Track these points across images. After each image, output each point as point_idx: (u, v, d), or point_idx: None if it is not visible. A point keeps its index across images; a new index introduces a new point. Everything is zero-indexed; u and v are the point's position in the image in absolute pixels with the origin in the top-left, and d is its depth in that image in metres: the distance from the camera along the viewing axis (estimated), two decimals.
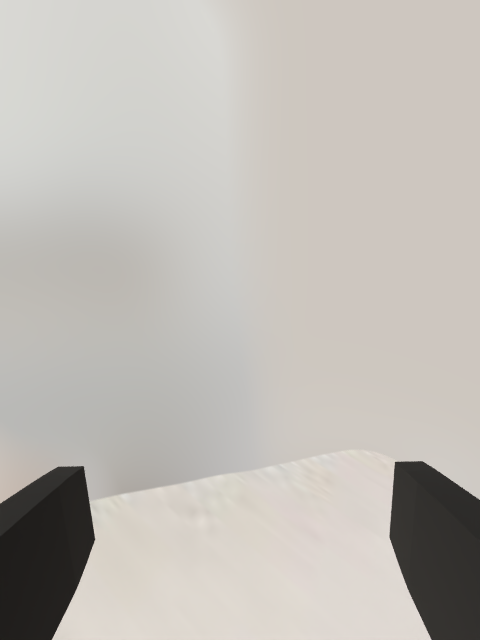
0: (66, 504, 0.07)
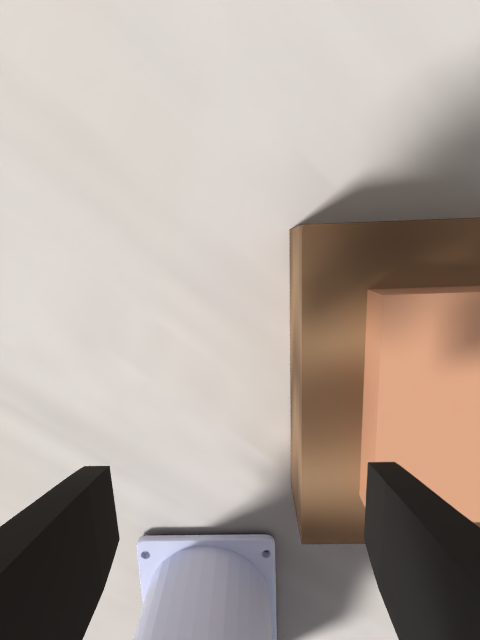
0: (95, 504, 0.07)
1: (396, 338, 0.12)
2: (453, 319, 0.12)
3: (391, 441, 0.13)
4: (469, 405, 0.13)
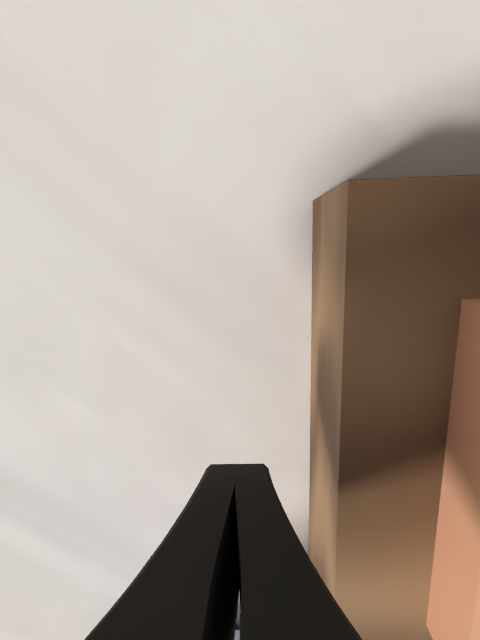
0: (235, 502, 0.07)
1: None
2: None
3: None
4: None
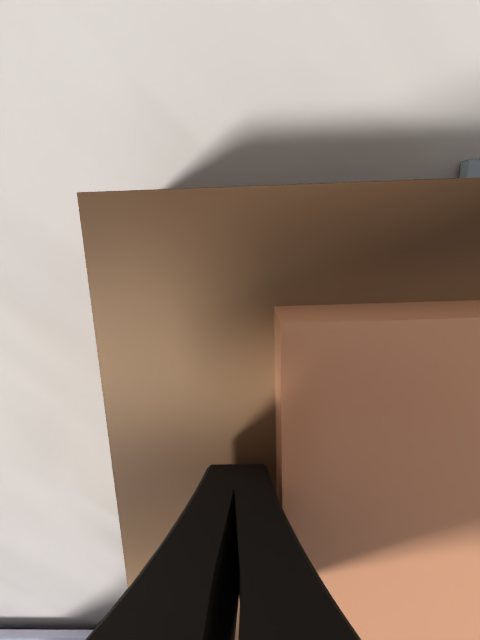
0: None
1: (310, 403, 0.06)
2: (417, 369, 0.06)
3: None
4: (447, 519, 0.07)
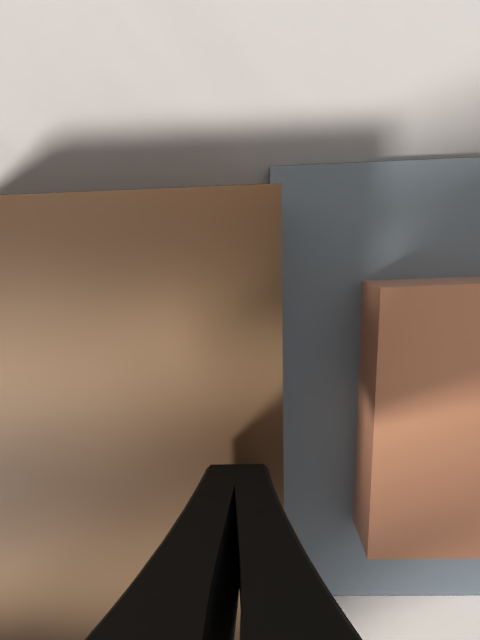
0: (235, 502, 0.07)
1: None
2: None
3: None
4: None
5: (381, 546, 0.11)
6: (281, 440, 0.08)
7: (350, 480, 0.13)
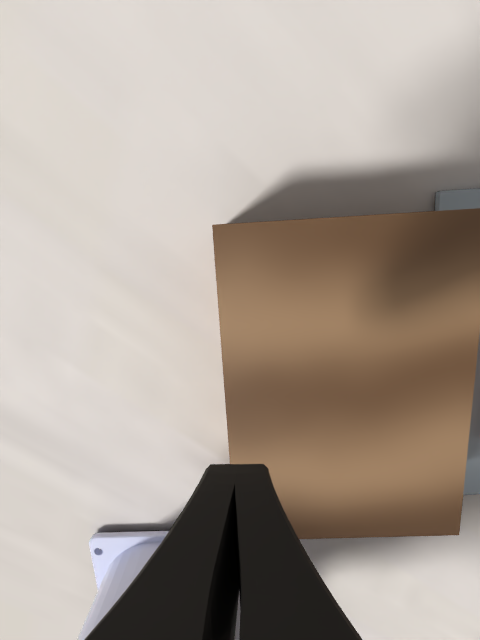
0: (235, 502, 0.07)
1: None
2: None
3: None
4: None
5: None
6: (475, 362, 0.14)
7: (479, 407, 0.18)
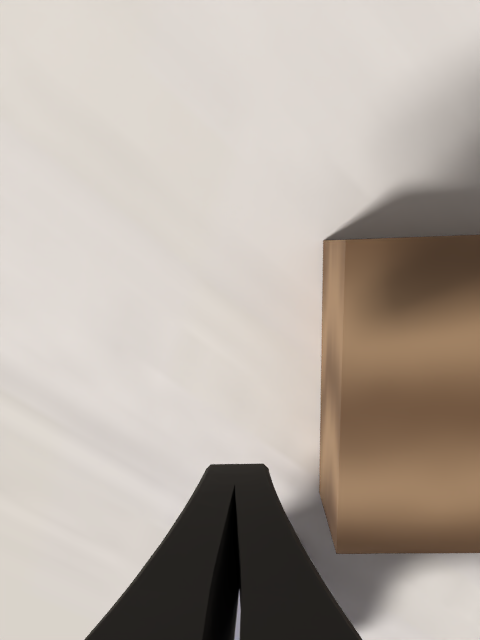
0: (235, 502, 0.07)
1: None
2: None
3: None
4: None
5: None
6: None
7: None
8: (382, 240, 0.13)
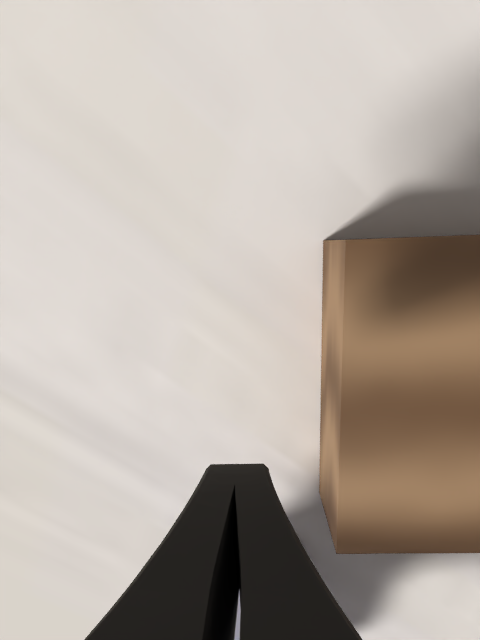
0: (235, 502, 0.07)
1: None
2: None
3: None
4: None
5: None
6: None
7: None
8: (382, 240, 0.13)
